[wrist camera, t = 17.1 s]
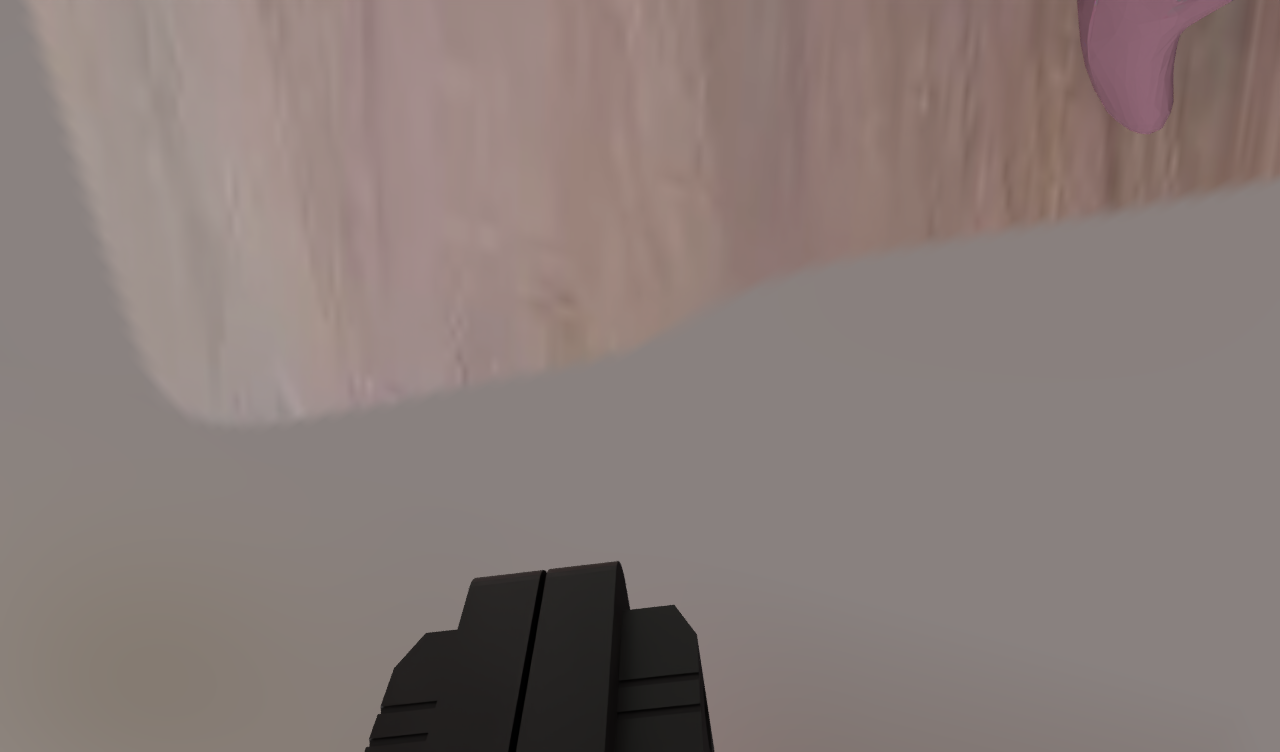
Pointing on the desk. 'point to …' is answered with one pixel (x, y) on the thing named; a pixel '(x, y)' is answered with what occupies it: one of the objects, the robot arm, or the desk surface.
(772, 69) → the desk surface
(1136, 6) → the video game controller
